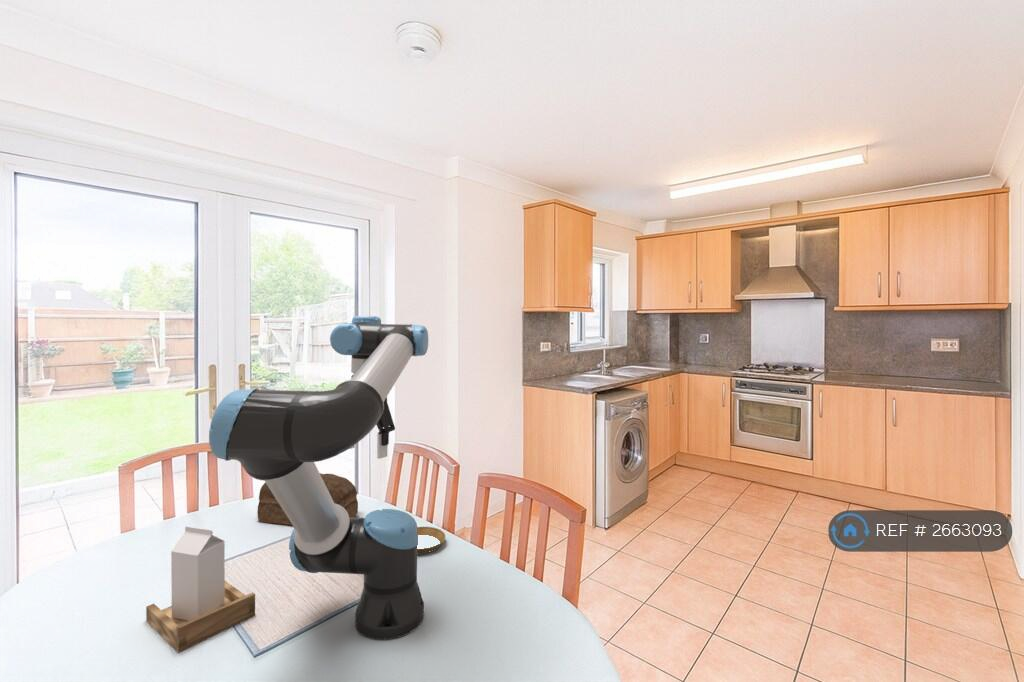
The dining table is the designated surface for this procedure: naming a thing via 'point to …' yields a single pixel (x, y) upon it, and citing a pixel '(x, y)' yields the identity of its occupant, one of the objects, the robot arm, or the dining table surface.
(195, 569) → the milk carton
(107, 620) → the dining table surface
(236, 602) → the wooden tray
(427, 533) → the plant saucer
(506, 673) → the dining table surface
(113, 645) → the dining table surface
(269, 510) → the bread
